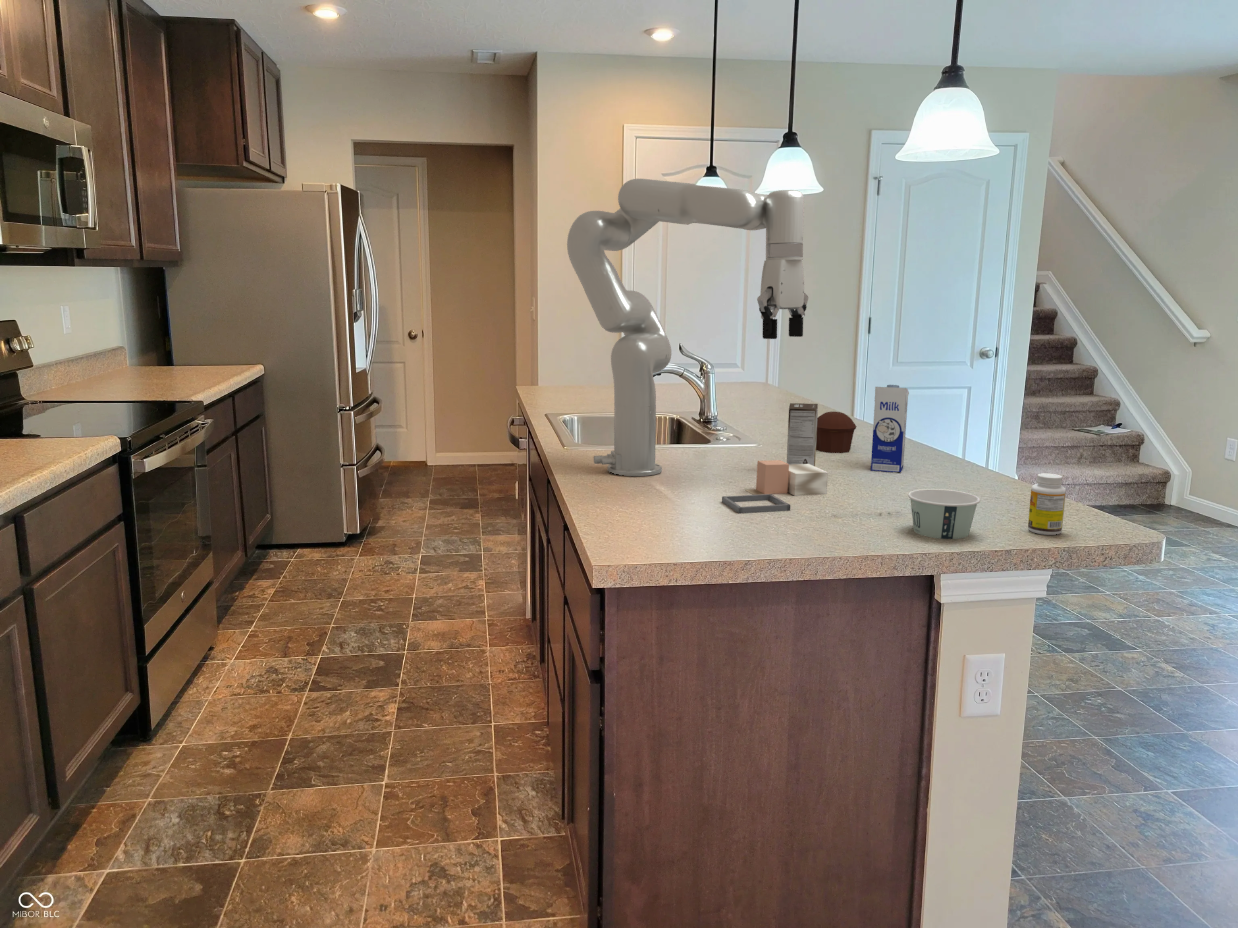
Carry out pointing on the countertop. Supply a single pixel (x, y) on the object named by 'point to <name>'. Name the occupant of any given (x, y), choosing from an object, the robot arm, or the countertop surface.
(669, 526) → the countertop surface
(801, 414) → the coffee box
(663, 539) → the countertop surface
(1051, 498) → the supplement bottle
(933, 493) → the food container
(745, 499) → the tray
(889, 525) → the countertop surface
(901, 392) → the milk carton
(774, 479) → the block
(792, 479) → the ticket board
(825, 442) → the muffin
